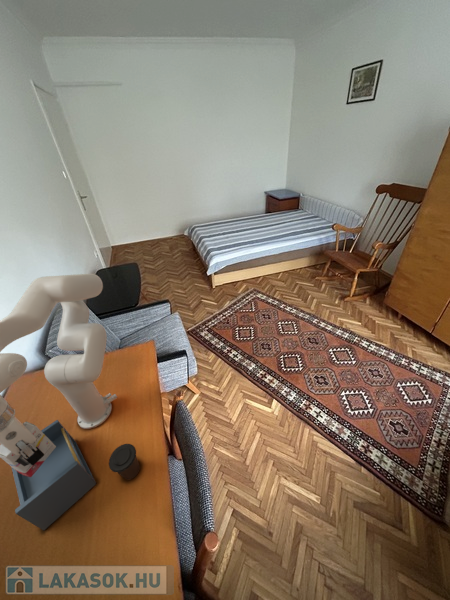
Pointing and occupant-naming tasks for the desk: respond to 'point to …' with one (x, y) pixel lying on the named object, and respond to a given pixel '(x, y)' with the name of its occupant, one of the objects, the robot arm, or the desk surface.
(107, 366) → the desk surface
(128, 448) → the coffee cup
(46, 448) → the ink box
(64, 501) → the shelf
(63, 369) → the robot arm
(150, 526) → the desk surface
